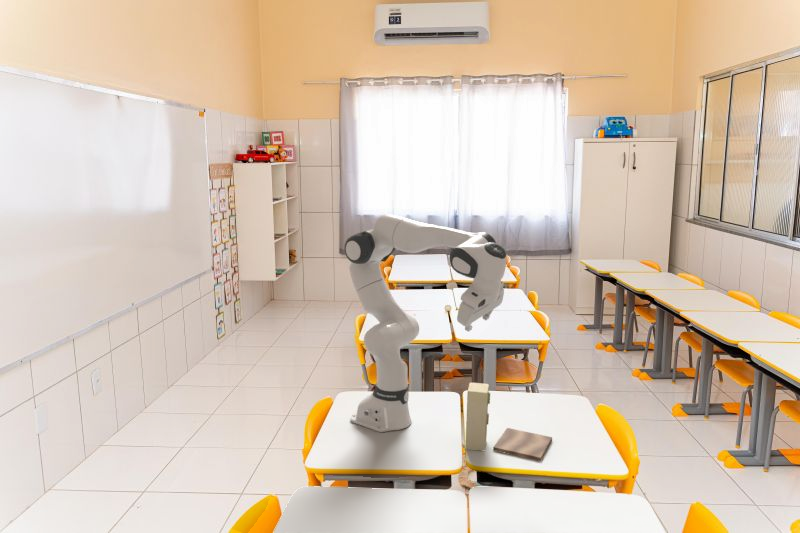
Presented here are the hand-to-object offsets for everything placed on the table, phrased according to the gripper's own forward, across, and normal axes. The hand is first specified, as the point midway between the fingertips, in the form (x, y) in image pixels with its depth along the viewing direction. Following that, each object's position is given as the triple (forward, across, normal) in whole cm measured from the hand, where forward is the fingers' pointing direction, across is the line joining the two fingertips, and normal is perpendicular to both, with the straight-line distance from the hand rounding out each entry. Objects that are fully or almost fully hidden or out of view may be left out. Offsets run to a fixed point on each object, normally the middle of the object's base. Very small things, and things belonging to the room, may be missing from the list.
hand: (476, 324), depth 208 cm
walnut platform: (+36, -2, +28) cm, 46 cm away
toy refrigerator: (+38, +9, +16) cm, 43 cm away
